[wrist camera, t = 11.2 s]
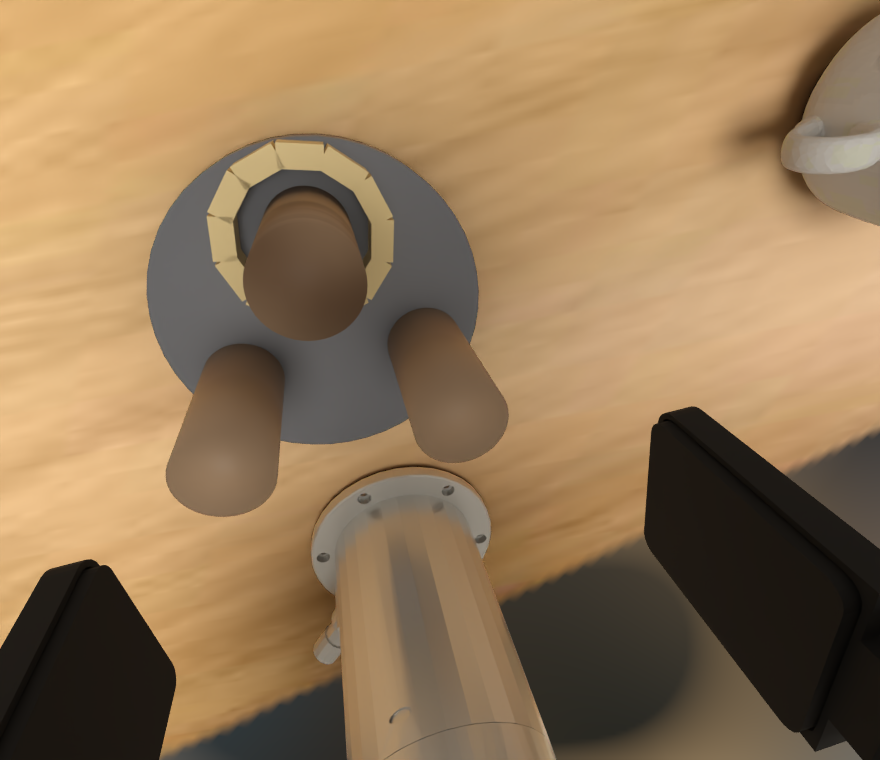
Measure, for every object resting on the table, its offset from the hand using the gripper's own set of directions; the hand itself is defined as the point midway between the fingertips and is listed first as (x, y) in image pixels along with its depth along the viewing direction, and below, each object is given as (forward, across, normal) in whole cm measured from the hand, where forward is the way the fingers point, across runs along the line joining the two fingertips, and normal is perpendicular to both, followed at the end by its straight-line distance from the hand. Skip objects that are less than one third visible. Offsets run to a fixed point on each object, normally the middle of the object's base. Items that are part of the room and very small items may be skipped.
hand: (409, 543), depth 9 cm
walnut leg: (+19, +1, -2) cm, 19 cm away
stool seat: (+21, +2, +2) cm, 21 cm away
